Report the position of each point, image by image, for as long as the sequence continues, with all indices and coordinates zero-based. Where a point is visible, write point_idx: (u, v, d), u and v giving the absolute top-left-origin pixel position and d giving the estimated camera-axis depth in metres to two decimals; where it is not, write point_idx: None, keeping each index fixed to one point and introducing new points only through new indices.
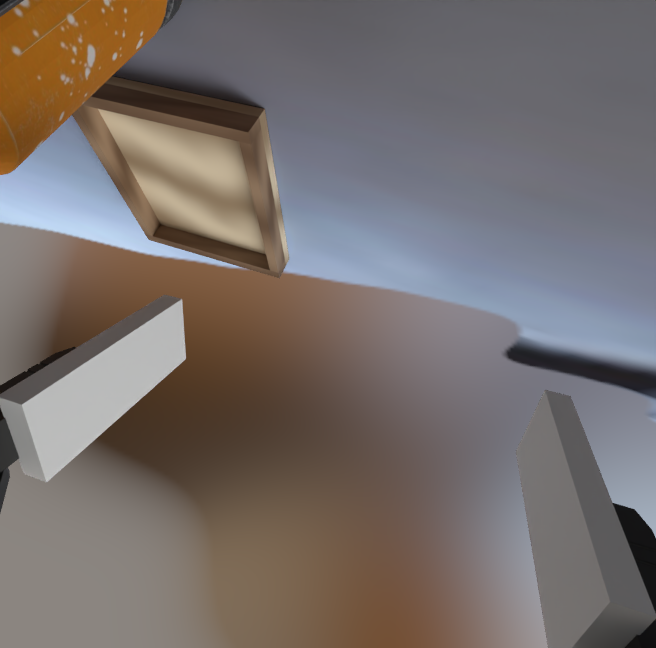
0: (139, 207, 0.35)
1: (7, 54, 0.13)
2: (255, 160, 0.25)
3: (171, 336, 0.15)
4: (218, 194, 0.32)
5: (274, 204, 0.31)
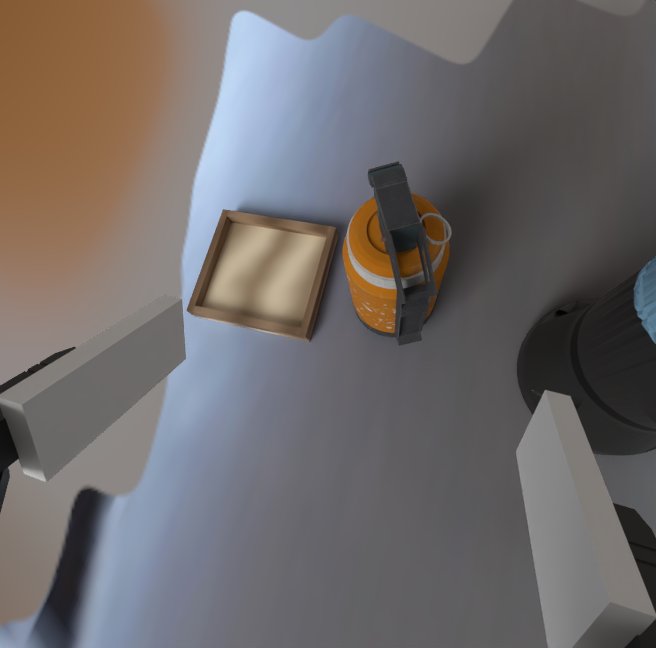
0: (252, 221, 0.50)
1: (385, 303, 0.35)
2: (288, 332, 0.45)
3: (171, 336, 0.15)
4: (258, 287, 0.48)
5: (249, 326, 0.47)
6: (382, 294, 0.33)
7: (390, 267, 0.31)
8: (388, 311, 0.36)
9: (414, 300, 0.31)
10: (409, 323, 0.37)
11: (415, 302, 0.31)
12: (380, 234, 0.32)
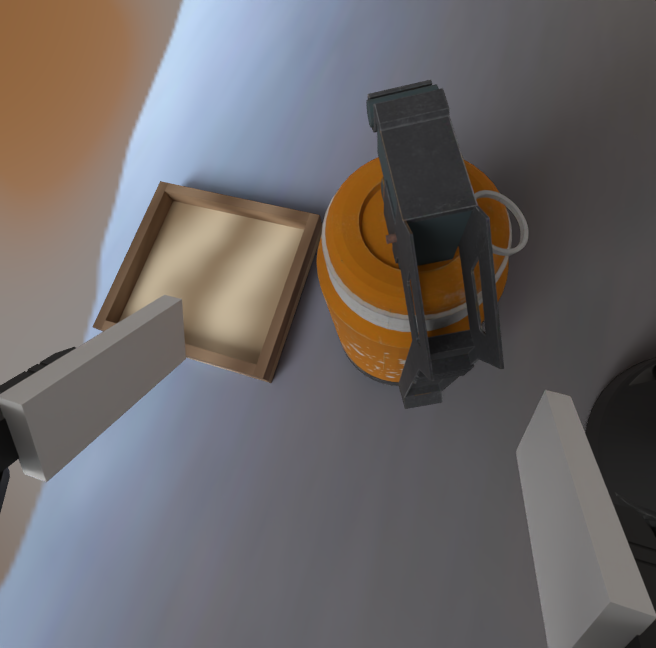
0: (200, 200, 0.35)
1: (388, 352, 0.20)
2: (237, 370, 0.30)
3: (171, 336, 0.15)
4: (202, 298, 0.33)
5: None
6: (383, 338, 0.18)
7: (402, 295, 0.15)
8: (391, 361, 0.21)
9: (444, 359, 0.16)
10: None
11: (445, 363, 0.16)
12: (385, 228, 0.16)
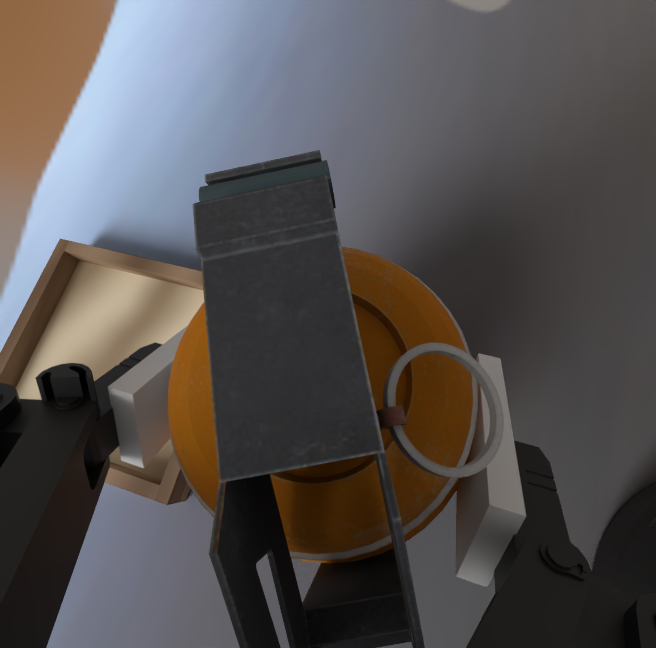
0: (107, 262, 0.28)
1: None
2: (135, 493, 0.23)
3: None
4: None
5: None
6: None
7: None
8: None
9: None
10: None
11: None
12: None
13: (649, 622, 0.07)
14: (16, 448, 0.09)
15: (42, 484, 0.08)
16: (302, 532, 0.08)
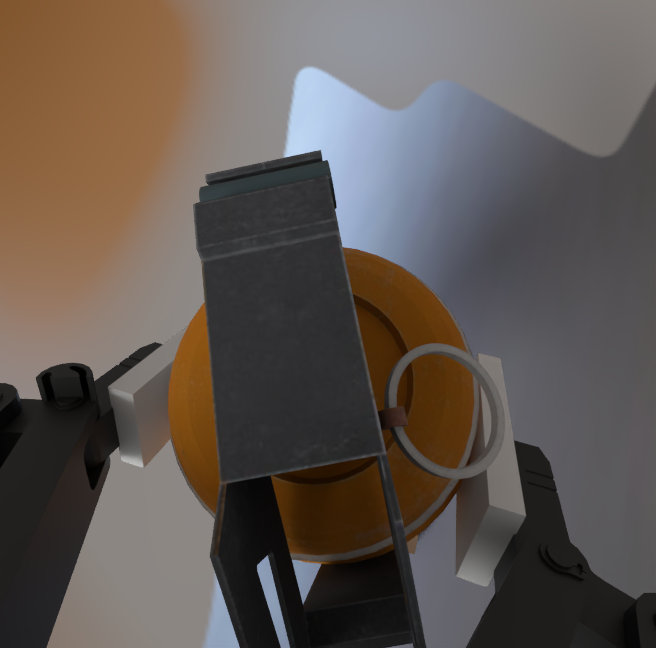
0: None
1: None
2: None
3: None
4: None
5: None
6: None
7: None
8: None
9: None
10: None
11: None
12: None
13: (649, 622, 0.07)
14: (16, 448, 0.09)
15: (42, 484, 0.08)
16: (303, 533, 0.08)
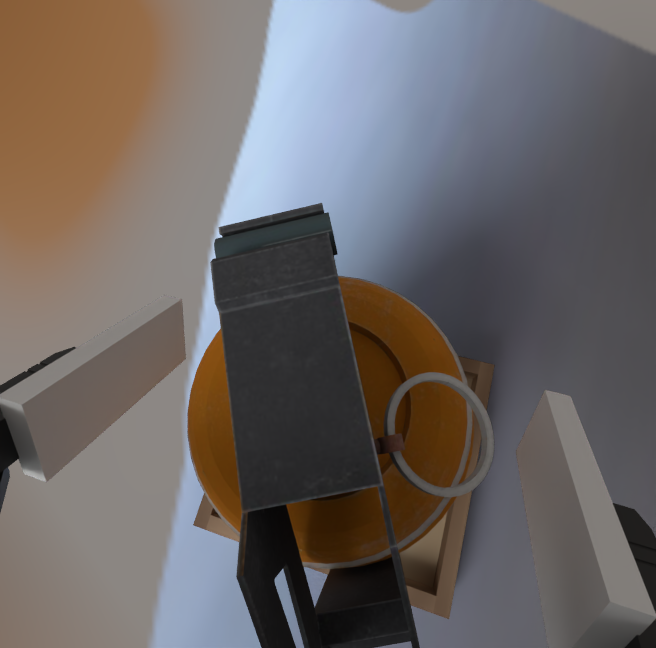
0: None
1: None
2: None
3: (171, 336, 0.15)
4: None
5: None
6: None
7: None
8: None
9: None
10: None
11: None
12: None
13: None
14: None
15: None
16: (313, 545, 0.09)
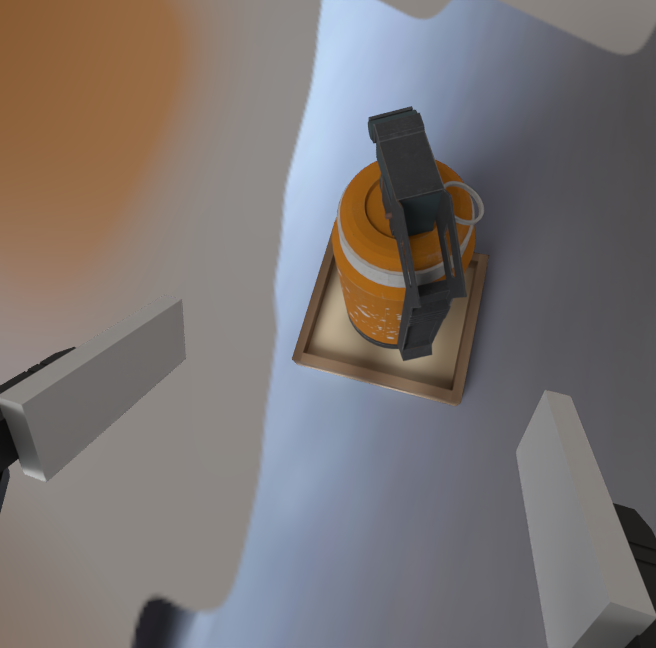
0: None
1: (388, 307, 0.26)
2: (435, 396, 0.34)
3: (171, 336, 0.15)
4: None
5: (374, 382, 0.36)
6: (384, 294, 0.24)
7: (397, 256, 0.22)
8: (391, 317, 0.28)
9: (429, 303, 0.23)
10: (418, 333, 0.28)
11: (430, 306, 0.23)
12: (383, 211, 0.23)
13: None
14: None
15: None
16: (406, 256, 0.22)
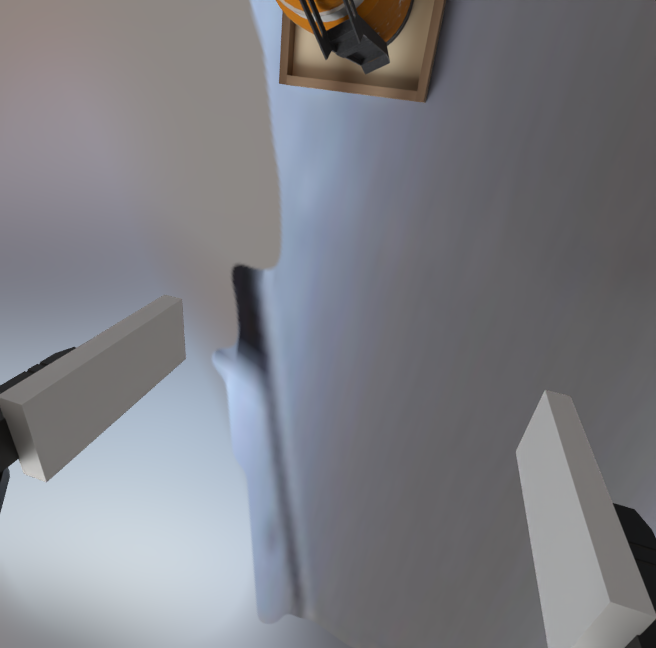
0: None
1: None
2: (402, 99, 0.39)
3: (171, 336, 0.15)
4: None
5: None
6: (318, 29, 0.28)
7: None
8: None
9: (350, 38, 0.27)
10: (367, 50, 0.32)
11: (351, 41, 0.27)
12: None
13: None
14: None
15: None
16: None
